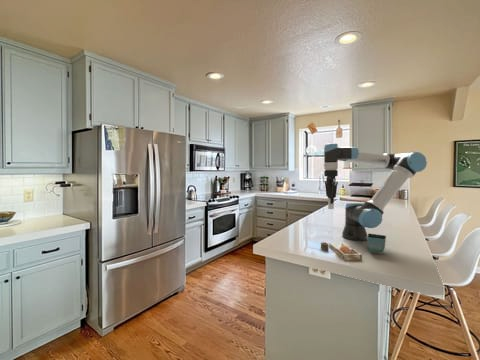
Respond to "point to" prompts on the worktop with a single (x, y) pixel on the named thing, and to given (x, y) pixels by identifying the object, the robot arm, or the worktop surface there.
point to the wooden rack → (349, 255)
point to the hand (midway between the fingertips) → (330, 208)
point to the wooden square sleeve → (324, 246)
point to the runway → (338, 247)
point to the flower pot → (376, 243)
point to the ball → (345, 249)
